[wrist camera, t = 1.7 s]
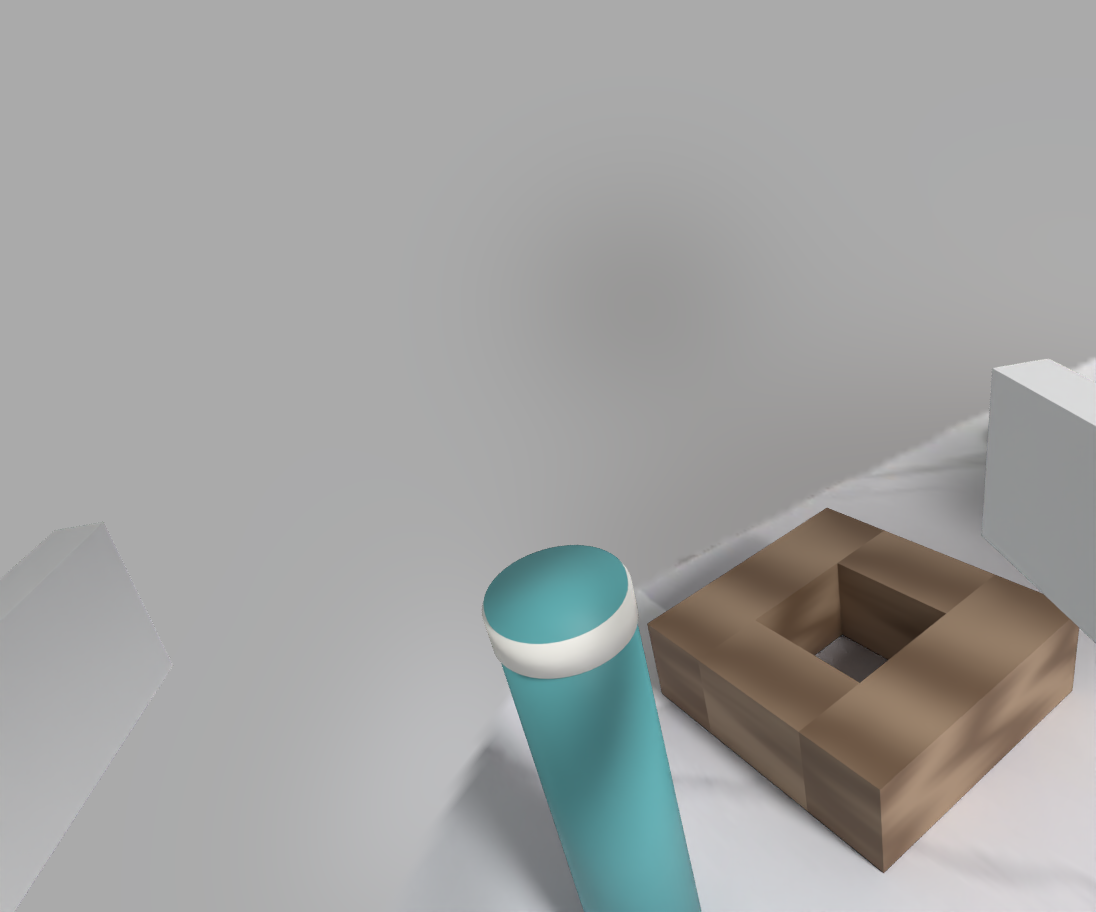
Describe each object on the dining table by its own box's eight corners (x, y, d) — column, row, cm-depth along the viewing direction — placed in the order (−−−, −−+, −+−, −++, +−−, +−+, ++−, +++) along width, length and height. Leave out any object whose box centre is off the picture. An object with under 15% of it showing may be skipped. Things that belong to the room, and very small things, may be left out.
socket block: (831, 574, 48) (827, 507, 46) (1072, 690, 37) (1080, 608, 34) (662, 693, 42) (647, 623, 40) (883, 873, 31) (879, 789, 29)
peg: (659, 866, 34) (574, 527, 26) (734, 949, 30) (662, 582, 22) (574, 935, 32) (454, 593, 24) (643, 1033, 28) (529, 665, 20)
